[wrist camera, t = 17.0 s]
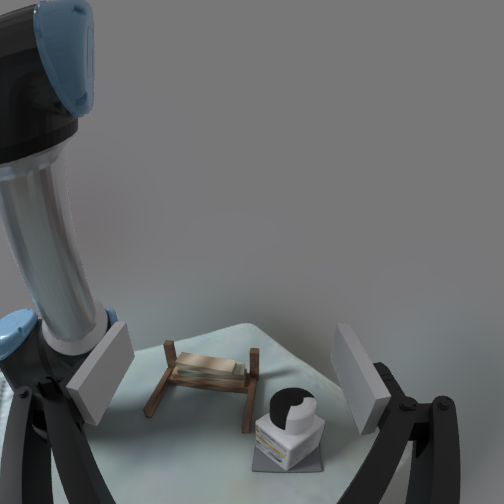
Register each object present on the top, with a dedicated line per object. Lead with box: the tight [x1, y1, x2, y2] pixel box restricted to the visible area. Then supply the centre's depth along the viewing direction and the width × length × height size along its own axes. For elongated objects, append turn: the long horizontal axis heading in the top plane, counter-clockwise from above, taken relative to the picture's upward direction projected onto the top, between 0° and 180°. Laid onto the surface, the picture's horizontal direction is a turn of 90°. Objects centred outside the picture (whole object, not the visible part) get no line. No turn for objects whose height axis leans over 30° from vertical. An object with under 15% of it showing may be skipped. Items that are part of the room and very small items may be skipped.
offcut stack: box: [172, 352, 247, 387], centre depth 53 cm, size 16×5×4 cm, turn 84°
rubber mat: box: [252, 442, 321, 473], centre depth 36 cm, size 11×11×1 cm
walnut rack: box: [143, 340, 259, 434], centre depth 48 cm, size 21×17×8 cm
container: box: [256, 388, 325, 470], centre depth 35 cm, size 8×8×13 cm
